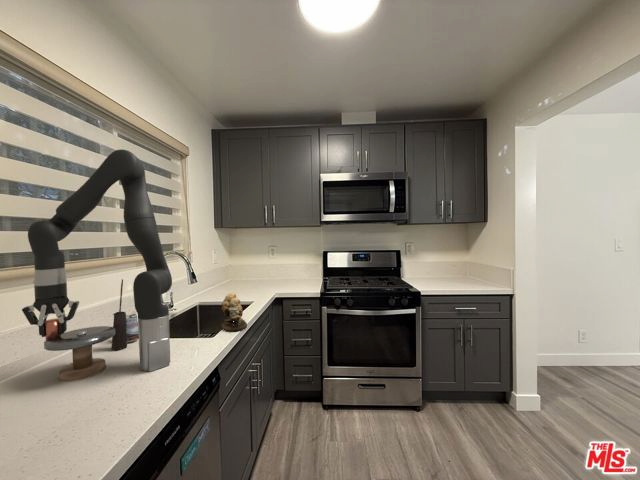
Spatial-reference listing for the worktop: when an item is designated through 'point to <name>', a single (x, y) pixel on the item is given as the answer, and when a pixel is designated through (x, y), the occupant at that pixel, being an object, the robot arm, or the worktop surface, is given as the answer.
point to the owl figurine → (233, 313)
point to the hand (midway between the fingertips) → (53, 334)
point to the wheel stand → (82, 365)
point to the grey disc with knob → (74, 336)
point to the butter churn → (119, 328)
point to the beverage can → (132, 327)
